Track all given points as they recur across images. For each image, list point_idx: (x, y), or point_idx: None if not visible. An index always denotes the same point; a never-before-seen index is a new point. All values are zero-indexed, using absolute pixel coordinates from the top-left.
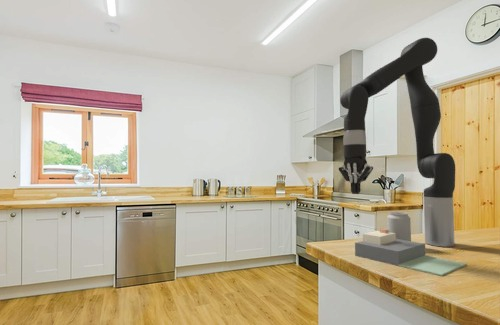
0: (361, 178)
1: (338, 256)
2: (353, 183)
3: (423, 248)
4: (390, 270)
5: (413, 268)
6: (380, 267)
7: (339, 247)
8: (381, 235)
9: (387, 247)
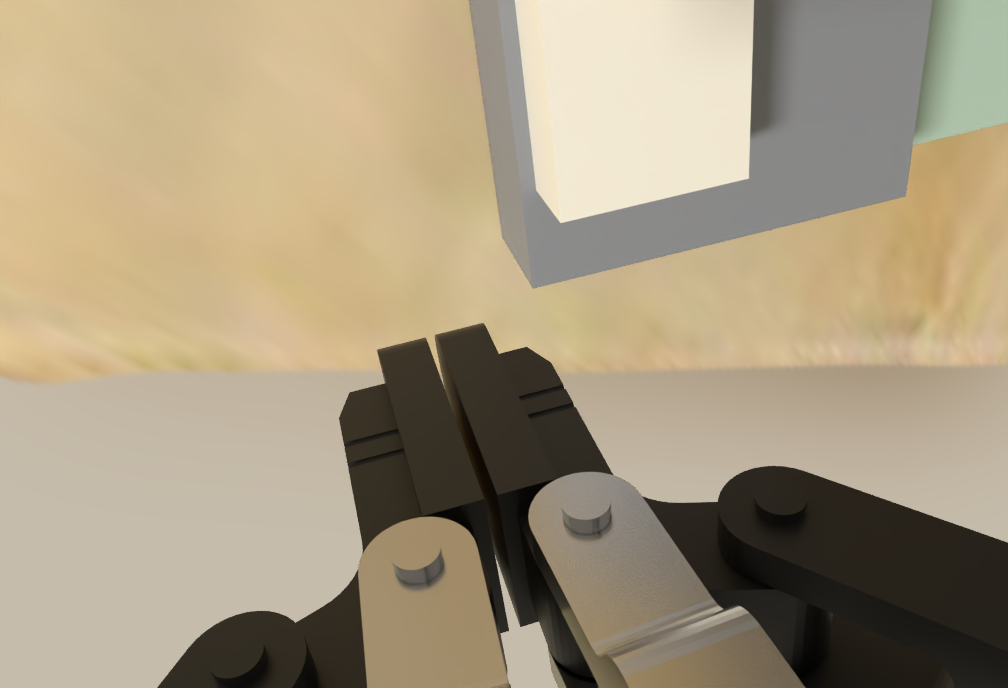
0: (829, 665)
1: None
2: (503, 620)
3: None
4: (848, 273)
5: (941, 137)
6: (783, 282)
7: (189, 169)
8: (725, 116)
9: (799, 169)
